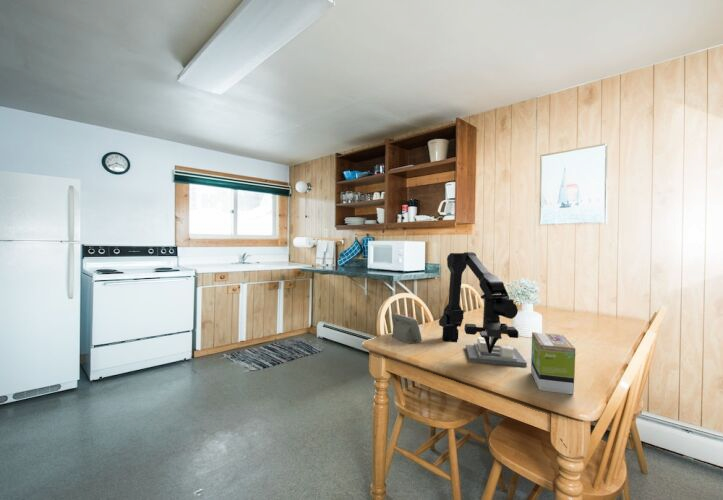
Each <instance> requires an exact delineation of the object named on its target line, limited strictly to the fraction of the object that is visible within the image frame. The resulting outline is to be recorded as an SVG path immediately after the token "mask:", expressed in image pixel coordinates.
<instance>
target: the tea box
mask: <svg viewBox="0 0 723 500" xmlns="http://www.w3.org/2000/svg"><path fill="white" fill-rule="evenodd" d="M530 360H531V363H530V371H531V374H532V377H533V379H534V381H535V384H536V387H537V388H538V390H539V391H542V392H543V391H544V392H550V393H551V392H552V393H556V394H557V393H559V394H566V395H574V394H575V393H574V391H575V371H576V370H575V369H576V347H574V345H573V344H572V343H571V342H570V341H569V340H568V339H567V337H565V336H564V335H563V334H560V333H559V334H558V333H547V332H543V333H542V332H533V331H532V333H531V359H530Z"/></svg>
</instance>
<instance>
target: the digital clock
mask: <svg viewBox="0 0 723 500" xmlns="http://www.w3.org/2000/svg"><path fill="white" fill-rule="evenodd" d="M391 319H392V324H393V328H392V338H393V339H396V340H399V341H400V342H404V343H406V344H407V343H411V342H417V343H421V342H422V339H423V338H422V333H421V329H420V326H419V322H418V320H417V319H415V318H413V317H409V316H406V315H403V314H399V313H395V312H393V313H391Z"/></svg>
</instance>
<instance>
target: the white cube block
mask: <svg viewBox="0 0 723 500" xmlns="http://www.w3.org/2000/svg"><path fill="white" fill-rule="evenodd" d="M479 351H485V352H488V349H487V346H486V342H485V341H481V340H479Z"/></svg>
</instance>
